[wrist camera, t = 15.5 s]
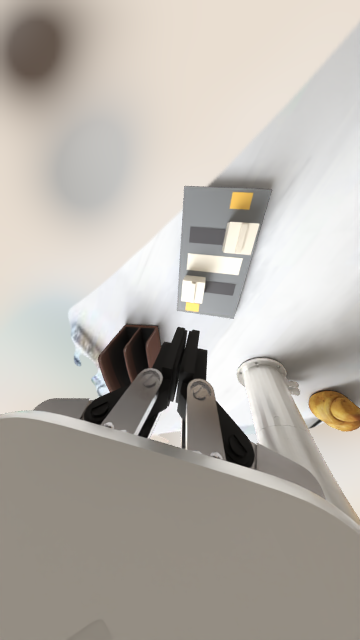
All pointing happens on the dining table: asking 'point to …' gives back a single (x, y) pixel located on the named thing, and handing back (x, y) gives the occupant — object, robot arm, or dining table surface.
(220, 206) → the switch panel
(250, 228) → the switch tab
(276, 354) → the dining table surface
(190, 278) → the switch tab
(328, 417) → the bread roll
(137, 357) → the letter holder
